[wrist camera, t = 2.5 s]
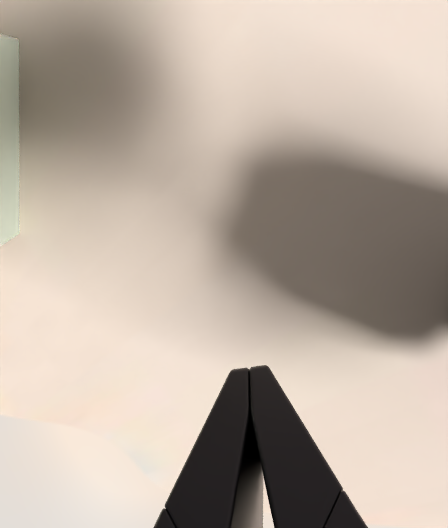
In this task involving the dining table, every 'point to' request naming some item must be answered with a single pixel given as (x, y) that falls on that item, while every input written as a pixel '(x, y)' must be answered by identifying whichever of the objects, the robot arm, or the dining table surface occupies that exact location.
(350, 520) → the robot arm
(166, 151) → the dining table surface
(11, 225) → the end tile
